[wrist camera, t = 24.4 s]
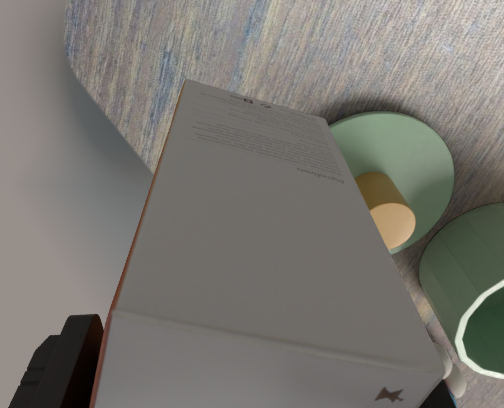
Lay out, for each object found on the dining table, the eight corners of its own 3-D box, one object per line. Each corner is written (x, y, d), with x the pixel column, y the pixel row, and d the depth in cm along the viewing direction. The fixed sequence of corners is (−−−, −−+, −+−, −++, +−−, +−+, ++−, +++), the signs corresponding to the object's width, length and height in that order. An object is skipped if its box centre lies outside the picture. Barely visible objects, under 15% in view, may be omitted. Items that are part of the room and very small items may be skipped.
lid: (283, 112, 35) (292, 144, 29) (464, 103, 35) (506, 133, 30) (283, 257, 42) (291, 303, 37) (433, 249, 42) (461, 293, 37)
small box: (183, 74, 18) (103, 308, 7) (328, 116, 19) (463, 373, 8) (148, 232, 22) (61, 542, 11) (269, 259, 23) (304, 563, 12)
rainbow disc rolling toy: (430, 325, 48) (459, 382, 42) (462, 371, 52) (494, 430, 46) (361, 357, 50) (379, 417, 44) (397, 399, 54) (419, 459, 48)
